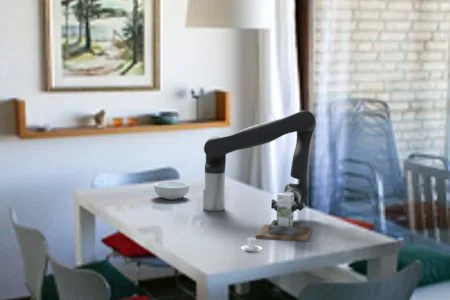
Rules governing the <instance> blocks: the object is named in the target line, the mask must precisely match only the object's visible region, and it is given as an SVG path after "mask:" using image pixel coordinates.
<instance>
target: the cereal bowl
mask: <svg viewBox="0 0 450 300" xmlns="http://www.w3.org/2000/svg"><path fill="white" fill-rule="evenodd" d="M153 186H154V187H153V188H154V192H155V194H156V195H157V196H158V197H160V198H162V199H164V198H166V199H177V198H179V199H181V198H184V196H186V195H187V194H188V193H189V189H190V184H189V183H187V182H184V181H178V180H165V181H159V182H156V183H154V184H153ZM166 199H165V200H166ZM177 200H178V199H177Z"/></svg>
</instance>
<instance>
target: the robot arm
mask: <svg viewBox="0 0 450 300" xmlns="http://www.w3.org/2000/svg"><path fill="white" fill-rule="evenodd" d="M314 115H315V114H313V113H312V111H310V110H306V109H305V110H299V111H298V112H295V113H292V114H289V115H288V116H285V117H282V118H278V119H274V120H273V119H272V120H269V121H265V122H262V123H258V124H254V125H251V126H249V127H246V128H243V129H242V130H239V131H237V132H235V133H233V134H230V135H226V136H222V137H220V136H211V137H209V139H208V140H206V142H205V144H204V146H203V152H204V154H205V164H204V188H203V190H202V191H203V195H202V196H203V197H202V203H203V204H202V207H203V208H202V209H203V210H205V211H210V212H220V211H224V210H225V206H226V204H225V202H226V199H225V198H226V197H225V195H226V191H225V190H226V189H225V188H226V163H227V162H226V160H227V154H230V153H233V152H235V151H240V150H246V149H250V148H254V147H259V146H262V145H266V144H269V143H271V142H273V141H275V140H278V139H279V138H281V137H282V136H285V135H288V134H291V133H295V132H296V141H295V142H296V143H295V148H294V152H293V156H292V159H291V168H290V177H291V178H293V179H296V180H298V181H299V182H300V183H299V184H298V183H290V182H289V183H287V184H286V185H285V187H284V190H283V192H292V193H294V205H293V206H292V212H296V211H303V210H304V209H305V208H306V202H305V201H306V200H307V199H308V197H309V188H308V182H307V181H308V180H307V179H308V178H307V176H308V174H307V173H308V167H309V165H308V164H309V158H310V157H309V156H310V155H309V154H310V147H311V141H312V136H313V134H314V131H315V128H316V126H317V125H316V124H317V122H316V117H315V116H314ZM270 203H271V205H270V206H271V207H270V208H271V209H272V210H274V211H275V212H277V199H276V200H275V199H273V198H272V199H271V202H270Z"/></svg>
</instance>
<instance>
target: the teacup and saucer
mask: <svg viewBox="0 0 450 300" xmlns="http://www.w3.org/2000/svg"><path fill="white" fill-rule="evenodd" d="M256 241H257V238H256V237H247V245H243V246H241V247H240V249H241V250H242V251H246V252H260V251H261V250H263V247H262V246H260V245H256ZM255 247H257V248H258V249H256V248H255Z"/></svg>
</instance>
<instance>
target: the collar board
mask: <svg viewBox="0 0 450 300" xmlns="http://www.w3.org/2000/svg"><path fill="white" fill-rule="evenodd" d="M312 232H313V227H307V226H302V225H301V221H297V220H296V221H295V220H293V227H286V226H277V219H273V220H272V221H271V223H270V224H267V223H266V224H265V223H264V224H263V225H262V226H261V227H260V229H259V230H258V232H257V233H256V234H255V238H256V239H264V240H275V241H276V240H280V241H290V242H302V241H307V240H309V238H310V236H311V235H312ZM307 242H308V241H307Z"/></svg>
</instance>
